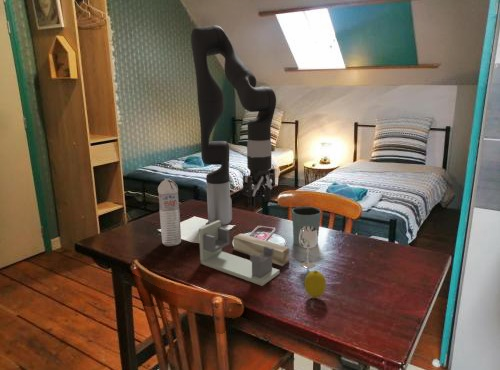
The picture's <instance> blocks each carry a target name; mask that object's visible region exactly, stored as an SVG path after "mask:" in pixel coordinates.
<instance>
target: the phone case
mask: <svg viewBox="0 0 500 370" xmlns="http://www.w3.org/2000/svg"><path fill="white" fill-rule="evenodd" d="M262 228H266V229H267V228H268V229H271V230H272V231H271V232H270V233H269V234H268V235H267V236H266V238H265V239H264V240H265V241H268V240H269V239H270V238H269V237H271V236H272V235H273V234H274V233H275V231H276V227H270V226H264V225H257V226H256V227H255V228H254V229H253V230H252V231H251V232H249V234H248V236H250V235H251V236H252V235H253V234H254V233H255V232H256V231H258V229H262ZM268 238H269V239H268ZM267 239H268V240H267Z"/></svg>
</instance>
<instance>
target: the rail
mask: <svg viewBox="0 0 500 370" xmlns="http://www.w3.org/2000/svg"><path fill="white" fill-rule="evenodd" d="M248 235H249V234H248ZM248 235H247V234H245V233H238V234H236V235H234V236H233V250H234V251H236V252H240V253H242V254H246V255H248V256H250V255H251V254H253V255H257V256H260V255H261V254H263V253H264V246H267V247H270V248H274V255H272V264H274V265H278V266H281V267H283V266H284V265H286V264H287V263H289V262H290V247H289V246H285V245H282V244H278V243H275V242H272V241H268V240H267V241H265V239H261V238H258V237H255V236H252V235H251V236H248Z"/></svg>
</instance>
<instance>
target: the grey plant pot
mask: <svg viewBox="0 0 500 370" xmlns="http://www.w3.org/2000/svg"><path fill="white" fill-rule="evenodd" d="M321 216H322V210H321V209H319V208H318V207H315V206H309V205H307V206H306V205H305V206H297V207H293V208H292V209H291V218H292V220H291V221H292V232H293V233H292V235H293V238H292V240H293V244H294V245H295V246H297V247H301V248H303V247H302V246H301V245H300V243H299V234H300V230H301V228H302V227H304V226H311V227H315V228H316V231H317V236H318V237H319V231H320V222H321ZM318 243H319V242H317V244H318Z"/></svg>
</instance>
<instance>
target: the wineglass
mask: <svg viewBox="0 0 500 370" xmlns="http://www.w3.org/2000/svg"><path fill="white" fill-rule="evenodd" d="M318 237H319V235H318V236H317V231H316V228H315V227H311V226H304V227H302V228H301V230H300V234H299V243H300V245H301V246H302V247H301V248H303V249H306V250H305V251H306V260H305V261H302V262H300V266H301V267H303V268H305V269H309V268H310V269H312V268H314V267H315V266H316V265H315V263H314V262H313V261H309V254H310V252H311V251H310V249H314V248H315V247H316V246H317V245H318V243H319V242H318V241H319V238H318ZM317 242H318V243H317Z"/></svg>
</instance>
